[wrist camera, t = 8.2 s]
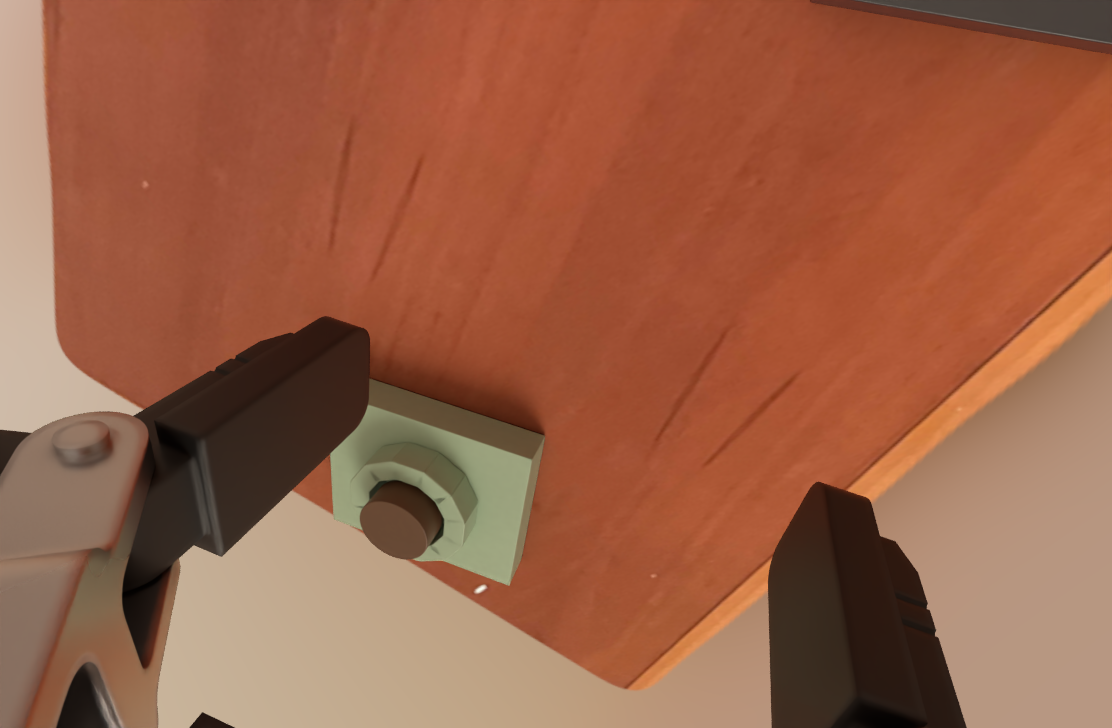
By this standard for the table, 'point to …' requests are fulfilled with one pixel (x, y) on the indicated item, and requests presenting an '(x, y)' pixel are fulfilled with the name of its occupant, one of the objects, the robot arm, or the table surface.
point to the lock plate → (1007, 18)
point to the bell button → (401, 520)
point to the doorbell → (444, 475)
